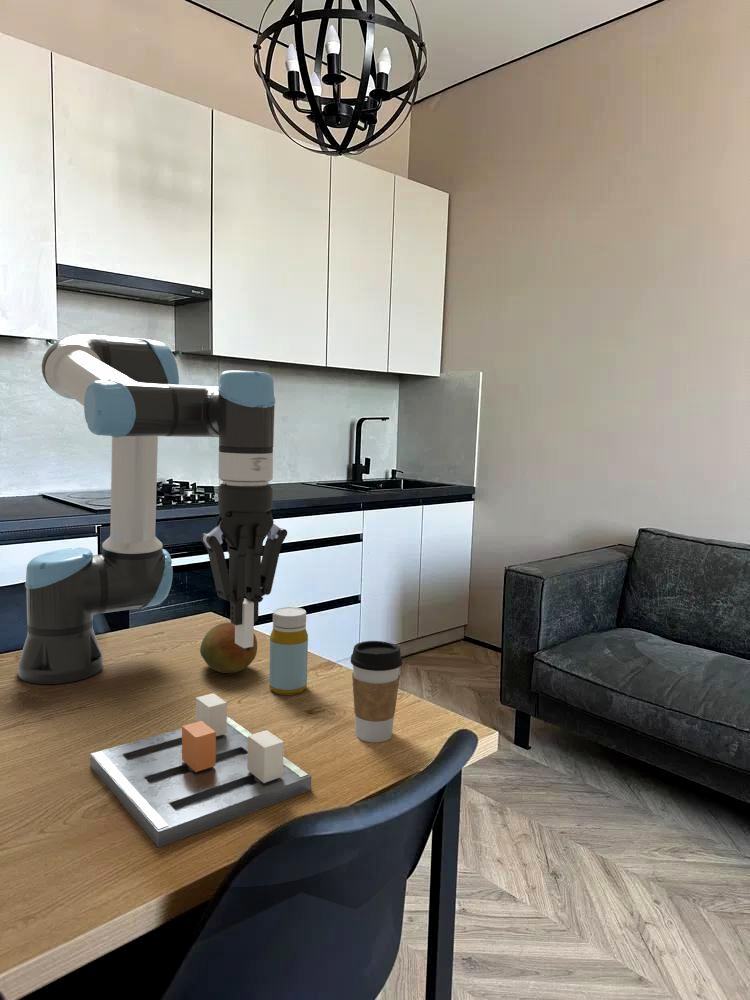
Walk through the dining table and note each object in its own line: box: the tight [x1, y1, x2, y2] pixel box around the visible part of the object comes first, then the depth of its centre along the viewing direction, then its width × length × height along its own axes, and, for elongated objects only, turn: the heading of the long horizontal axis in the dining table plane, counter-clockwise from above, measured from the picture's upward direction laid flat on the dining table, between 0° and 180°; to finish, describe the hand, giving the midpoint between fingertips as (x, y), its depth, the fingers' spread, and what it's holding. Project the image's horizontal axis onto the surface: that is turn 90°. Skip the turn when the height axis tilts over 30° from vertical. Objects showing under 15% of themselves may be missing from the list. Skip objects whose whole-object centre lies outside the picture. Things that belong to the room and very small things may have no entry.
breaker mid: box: [181, 721, 216, 772], centre depth 100 cm, size 4×3×6 cm
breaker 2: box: [247, 729, 285, 783], centre depth 98 cm, size 4×3×6 cm
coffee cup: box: [350, 640, 403, 743], centre depth 115 cm, size 8×8×15 cm
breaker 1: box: [195, 692, 228, 736], centre depth 110 cm, size 4×3×6 cm
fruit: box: [199, 621, 258, 674], centre depth 141 cm, size 12×12×10 cm
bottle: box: [268, 606, 309, 696], centre depth 133 cm, size 7×7×15 cm
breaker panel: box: [89, 715, 312, 848], centre depth 100 cm, size 24×22×2 cm
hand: (244, 644), depth 103 cm, fingers closed
